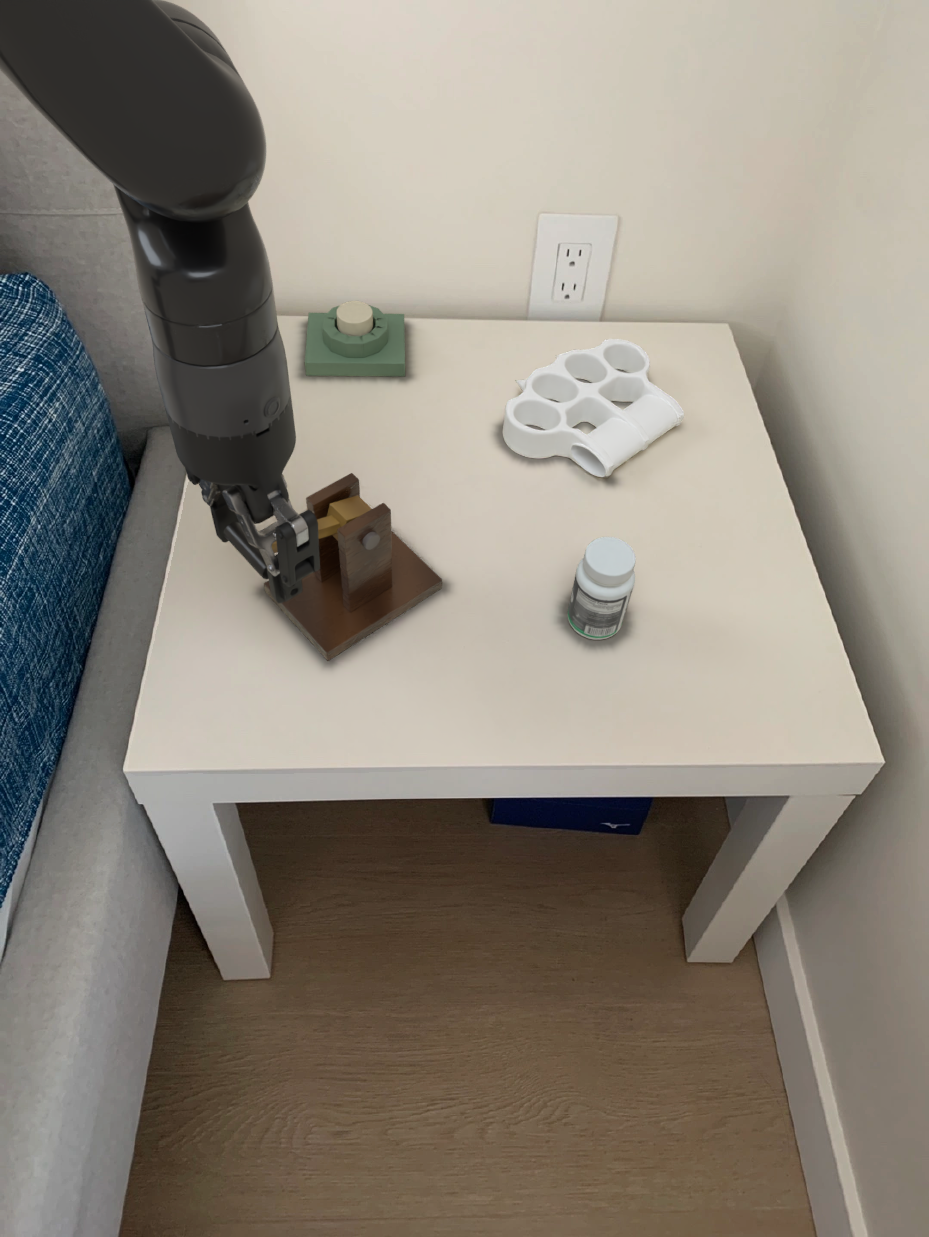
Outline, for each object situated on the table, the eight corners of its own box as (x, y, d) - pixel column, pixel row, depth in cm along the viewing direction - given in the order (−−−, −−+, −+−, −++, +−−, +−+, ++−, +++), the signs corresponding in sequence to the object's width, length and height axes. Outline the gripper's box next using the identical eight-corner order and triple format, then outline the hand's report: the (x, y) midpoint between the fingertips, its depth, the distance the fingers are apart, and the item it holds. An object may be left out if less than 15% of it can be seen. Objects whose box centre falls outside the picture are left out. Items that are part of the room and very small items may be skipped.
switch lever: (259, 587, 69) (264, 561, 68) (221, 544, 71) (225, 519, 70) (379, 545, 76) (386, 522, 75) (341, 508, 79) (347, 484, 77)
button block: (306, 375, 99) (303, 347, 96) (309, 325, 103) (307, 297, 101) (405, 376, 99) (404, 349, 97) (404, 327, 104) (404, 299, 101)
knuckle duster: (580, 502, 90) (470, 420, 96) (700, 415, 98) (592, 344, 104) (586, 477, 88) (472, 393, 93) (708, 389, 95) (597, 317, 101)
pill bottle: (590, 587, 85) (606, 522, 78) (633, 619, 83) (654, 556, 76) (554, 618, 82) (568, 554, 76) (598, 651, 81) (615, 589, 74)
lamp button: (336, 337, 98) (335, 322, 96) (337, 314, 100) (336, 300, 98) (372, 337, 98) (372, 323, 97) (373, 315, 100) (372, 300, 99)
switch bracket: (327, 661, 79) (318, 578, 70) (264, 592, 82) (248, 505, 74) (442, 588, 84) (446, 502, 75) (377, 526, 87) (375, 437, 79)
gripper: (109, 351, 60) (163, 530, 73) (239, 486, 54) (272, 654, 67) (215, 306, 63) (248, 485, 76) (349, 428, 57) (359, 600, 70)
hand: (259, 564), depth 72 cm, fingers open, 6 cm apart
